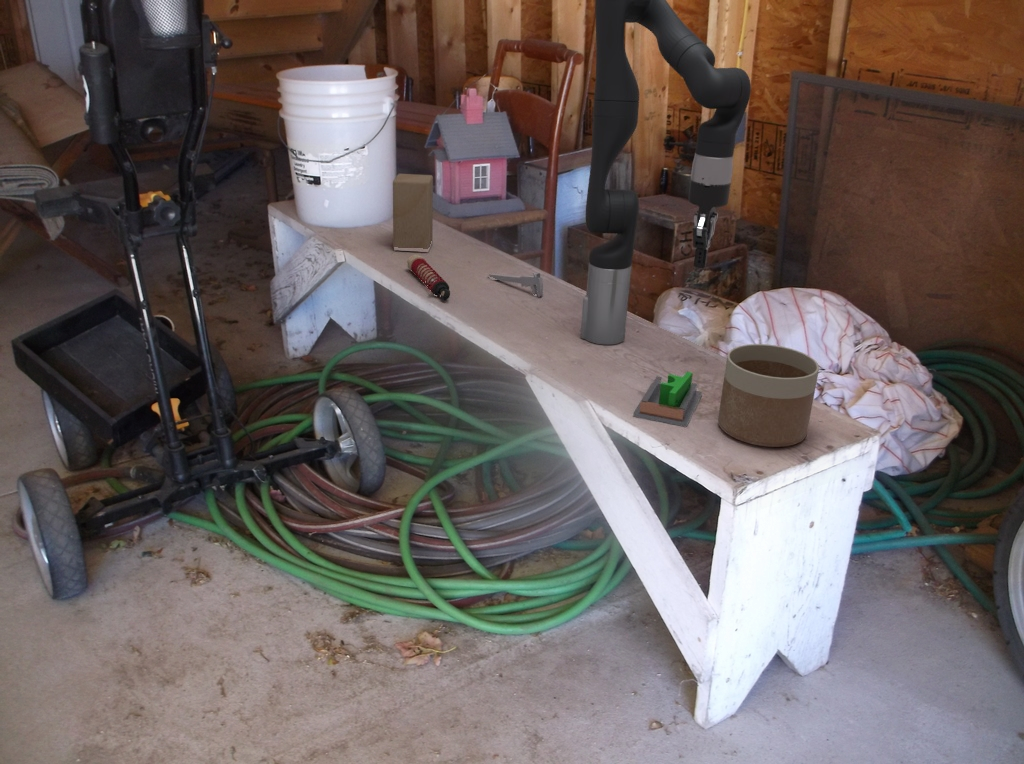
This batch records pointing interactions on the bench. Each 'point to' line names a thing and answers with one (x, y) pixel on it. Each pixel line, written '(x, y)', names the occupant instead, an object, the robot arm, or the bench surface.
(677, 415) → the steel channel
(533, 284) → the caliper
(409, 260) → the shock absorber
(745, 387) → the planter
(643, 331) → the bench surface
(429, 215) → the wooden block
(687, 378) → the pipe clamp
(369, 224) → the bench surface
